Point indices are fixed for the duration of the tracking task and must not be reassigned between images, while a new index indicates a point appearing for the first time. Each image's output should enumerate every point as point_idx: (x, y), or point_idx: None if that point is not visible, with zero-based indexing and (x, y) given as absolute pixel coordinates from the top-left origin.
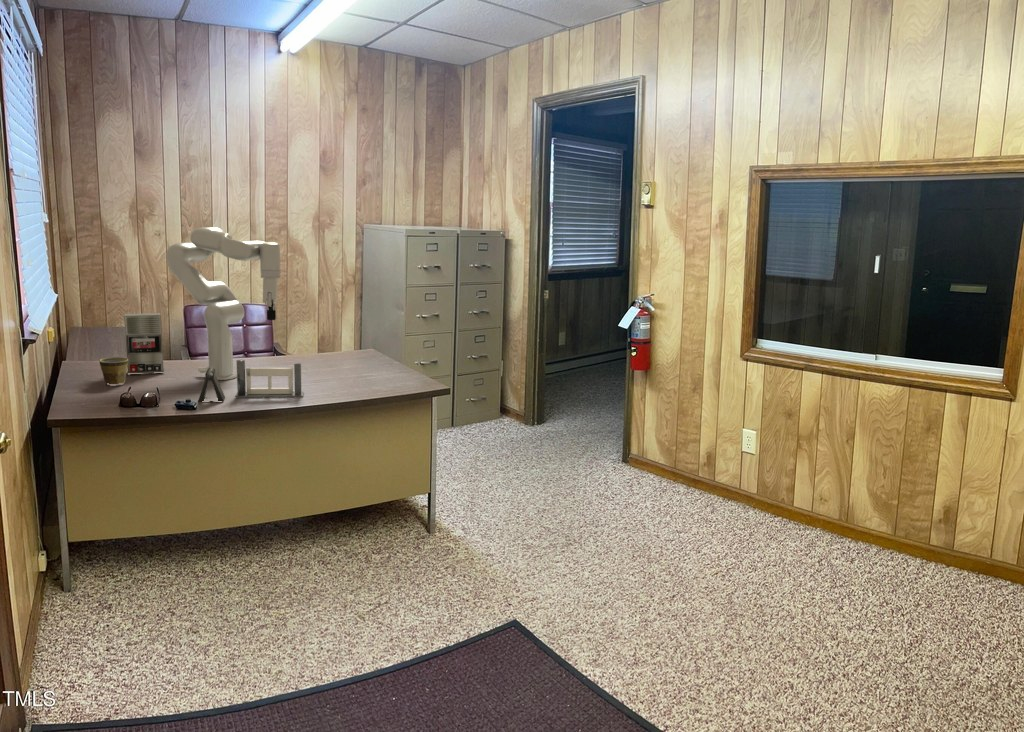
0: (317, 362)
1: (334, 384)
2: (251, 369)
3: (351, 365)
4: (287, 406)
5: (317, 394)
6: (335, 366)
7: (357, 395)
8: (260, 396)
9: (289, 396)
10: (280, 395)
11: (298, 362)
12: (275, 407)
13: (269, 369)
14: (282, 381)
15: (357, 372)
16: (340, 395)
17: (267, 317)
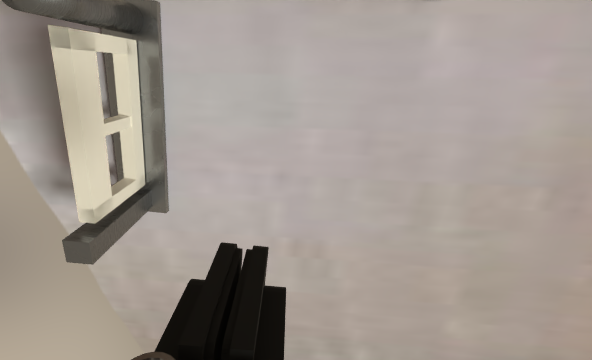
0: (544, 268)
1: None
2: (55, 53)
3: (470, 338)
4: (22, 161)
5: (160, 241)
6: (473, 304)
7: (152, 320)
8: (108, 86)
9: (118, 172)
10: (117, 148)
11: (90, 255)
12: (5, 128)
13: (67, 135)
14: (322, 160)
15: (387, 342)
16: (151, 288)
17: (214, 261)
